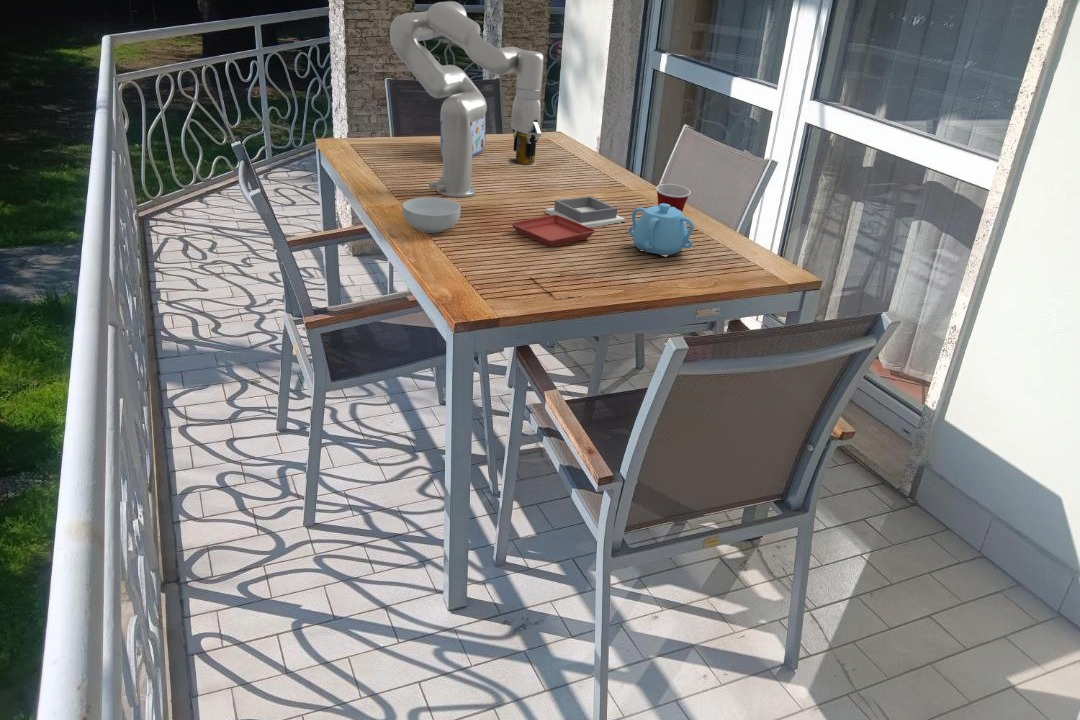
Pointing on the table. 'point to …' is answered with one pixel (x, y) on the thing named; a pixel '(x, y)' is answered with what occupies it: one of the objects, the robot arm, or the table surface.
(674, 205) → the plastic cup
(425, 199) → the cereal bowl
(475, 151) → the lunch box
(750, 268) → the table surface
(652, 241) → the decorative pot
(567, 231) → the plant saucer
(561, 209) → the holder
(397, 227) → the table surface
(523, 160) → the condiment
